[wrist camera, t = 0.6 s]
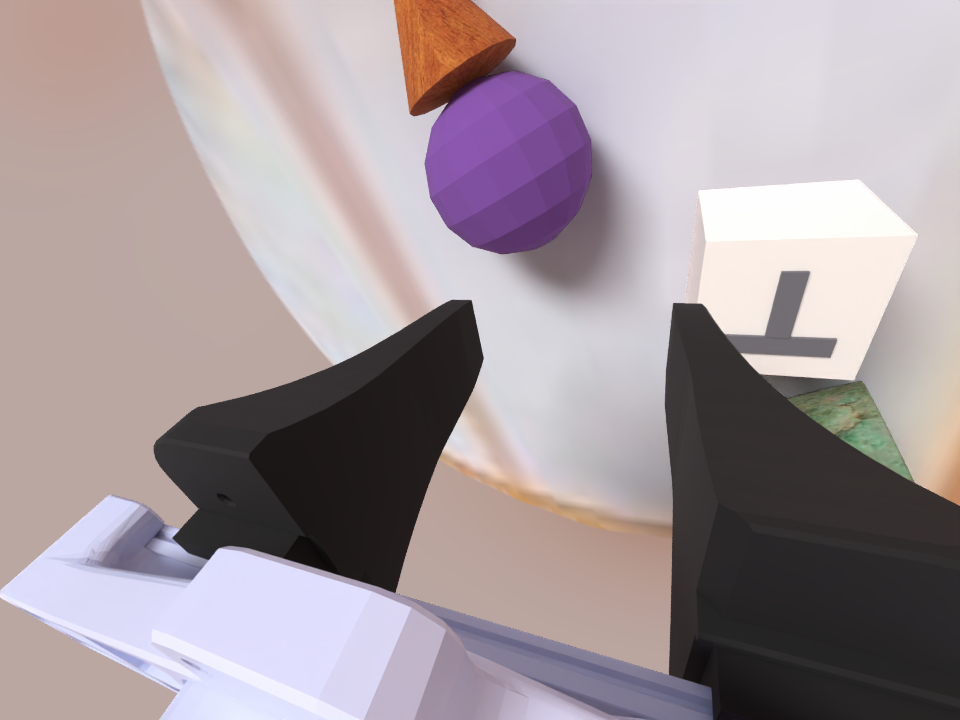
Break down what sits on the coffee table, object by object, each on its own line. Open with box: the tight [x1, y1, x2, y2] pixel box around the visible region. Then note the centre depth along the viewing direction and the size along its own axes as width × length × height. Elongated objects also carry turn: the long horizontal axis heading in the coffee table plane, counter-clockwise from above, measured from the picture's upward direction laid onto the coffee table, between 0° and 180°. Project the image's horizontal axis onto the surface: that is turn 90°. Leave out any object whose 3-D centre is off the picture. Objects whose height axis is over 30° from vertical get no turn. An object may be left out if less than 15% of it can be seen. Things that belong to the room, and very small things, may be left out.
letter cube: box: [685, 179, 918, 380], centre depth 16 cm, size 5×5×5 cm
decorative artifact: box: [787, 381, 915, 483], centre depth 18 cm, size 10×7×10 cm
